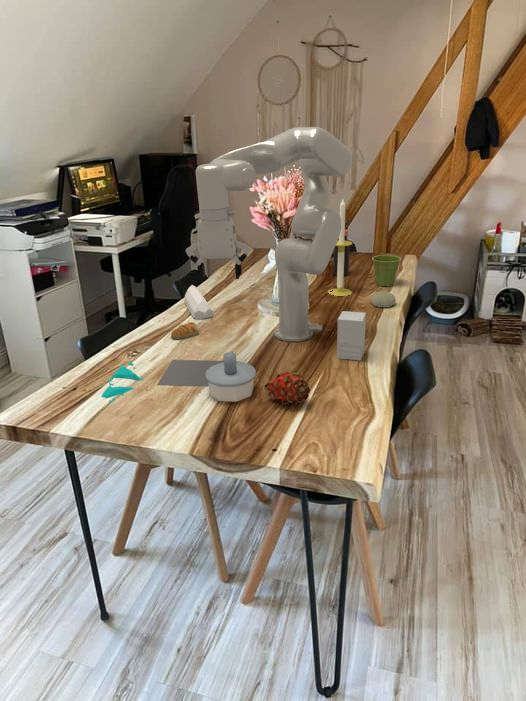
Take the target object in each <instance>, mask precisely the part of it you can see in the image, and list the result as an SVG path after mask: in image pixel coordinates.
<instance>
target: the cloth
mask: <svg viewBox="0 0 526 701" xmlns="http://www.w3.org/2000/svg"><path fill="white" fill-rule="evenodd" d="M134 365H135V363H133V361H132V360H130V361H129V362H128V364H127V366H133V370H137V367H134ZM113 379H123V380H124V379H125V380H133V381H139V382H140V381H144V379H145V378H143V377H142V378H141V377H139V376H138V375H137V374H136V373H135V372H133V371H132V370H131V369H129V368H127V367H126V366H124V365H123V364H121V365H120V367H119V368H118V369H117V370H116V372H115V373H113V374H112V376H111V378H109V380H108V384H109V386H108V387H107V388H106V389H105V390H104V391H103V393H102V394H101V398H105V399H109V398H112V399H110V400H108V404H110V403H112V402H114V401H116V398H114V397H116V396H120V395H121V396H122V397H124V396H125V393H127V392H130V391H133V390H135V387H133V386H113V385H115V383H111V382H113ZM112 386H113V387H112Z"/></svg>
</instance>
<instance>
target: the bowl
mask: <svg viewBox="0 0 526 701" xmlns="http://www.w3.org/2000/svg"><path fill="white" fill-rule="evenodd" d="M208 384H209V387H208V394H209V396H211V397H212V398H214V399H215V400H217V401H219V402H239V401H242V400H245V399H247V398H249V397H251V396H252V394H253V390H254V379H253V380H252V381H250V382H249V383H246V384H244V385H240V386H234V387H222V386H216V385H213V384H211V383H209V382H208Z"/></svg>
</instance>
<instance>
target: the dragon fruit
mask: <svg viewBox="0 0 526 701" xmlns="http://www.w3.org/2000/svg"><path fill="white" fill-rule="evenodd" d="M276 375H277V376H275V377H274V378H273V379H271V380H270V381H268V382H267V383H265V385H264V389H266V390H267V391H269V392H268V395H269V396H270V397H271V400H272V401H274V400H281V404H282V405H283V406H286V405H288V404H289V403H291V404H292V405H296V404H298V403H301V402H303V401H304V400H305V401H306V400H307V399H308V398H309V397H310V396H309V393H310V392H311V388H310V386H309V383H308V381H307V380H306V379H305V378H304V377H301V375H300V374H298V373H297V372H292V373H290V372H288V371H283V372H281V373H279V374H276Z"/></svg>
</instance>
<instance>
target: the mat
mask: <svg viewBox="0 0 526 701" xmlns="http://www.w3.org/2000/svg"><path fill="white" fill-rule="evenodd" d="M223 362H224V360H206V359H205V360H202V359H200V360H199V359H198V360H197V359H196V360H195V359H172V360H171V361H170V363H169V365H168V367H167V368H166V369H165V371H164V373H163V374H162V376H161V378H160V379H159V380H158V382H157V384H156V386H175V387H177V386H178V387H206V388H207V387H208V388H209V384H208V381H207V379H206V371H207V370H208V369H209V368H210V367H212V366H213V365H216V364H219V363H223Z"/></svg>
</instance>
